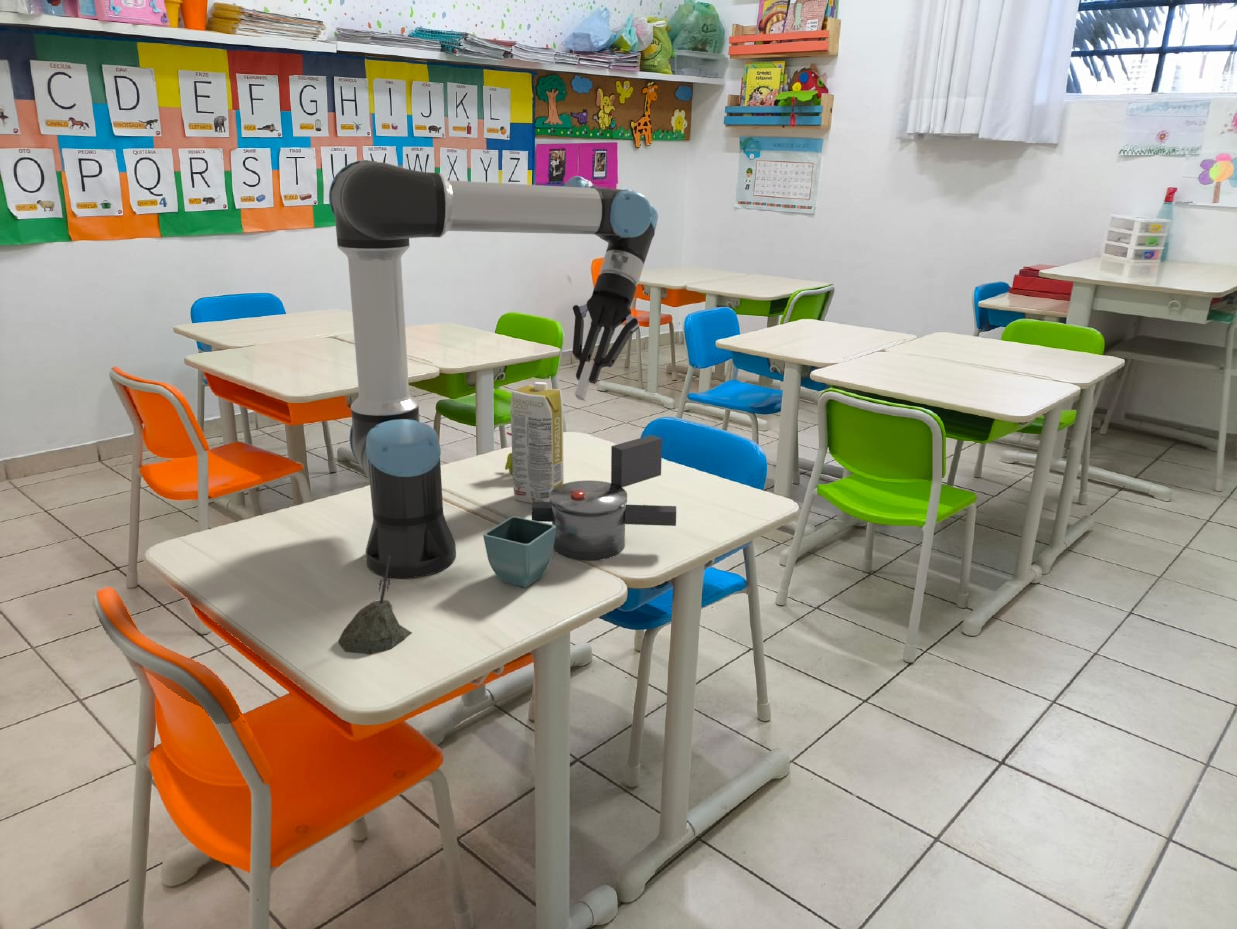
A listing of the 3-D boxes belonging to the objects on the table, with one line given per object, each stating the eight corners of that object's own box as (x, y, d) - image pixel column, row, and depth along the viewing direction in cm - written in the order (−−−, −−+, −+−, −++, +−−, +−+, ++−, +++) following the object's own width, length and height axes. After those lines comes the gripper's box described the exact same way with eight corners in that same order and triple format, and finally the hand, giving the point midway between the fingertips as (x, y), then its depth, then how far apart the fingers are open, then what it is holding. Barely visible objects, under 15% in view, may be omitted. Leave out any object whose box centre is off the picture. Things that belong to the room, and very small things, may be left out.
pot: (528, 558, 152) (526, 513, 149) (538, 528, 164) (537, 486, 161) (675, 564, 150) (676, 518, 147) (674, 532, 163) (676, 490, 160)
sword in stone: (360, 664, 121) (351, 585, 117) (330, 645, 126) (320, 569, 122) (421, 636, 128) (413, 561, 124) (390, 619, 133) (382, 547, 129)
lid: (583, 521, 145) (583, 475, 142) (534, 497, 155) (533, 454, 152) (681, 488, 160) (683, 445, 157) (631, 468, 169) (631, 428, 166)
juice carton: (568, 496, 179) (567, 382, 170) (547, 509, 172) (545, 391, 164) (530, 488, 183) (527, 376, 175) (508, 500, 176) (504, 385, 168)
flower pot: (483, 584, 143) (481, 533, 140) (514, 563, 150) (512, 514, 147) (528, 596, 139) (527, 545, 136) (557, 574, 146) (557, 525, 143)
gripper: (581, 264, 160) (541, 382, 156) (648, 278, 158) (610, 399, 153) (588, 282, 168) (551, 395, 163) (653, 296, 165) (617, 412, 160)
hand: (580, 397), depth 158 cm, fingers closed
